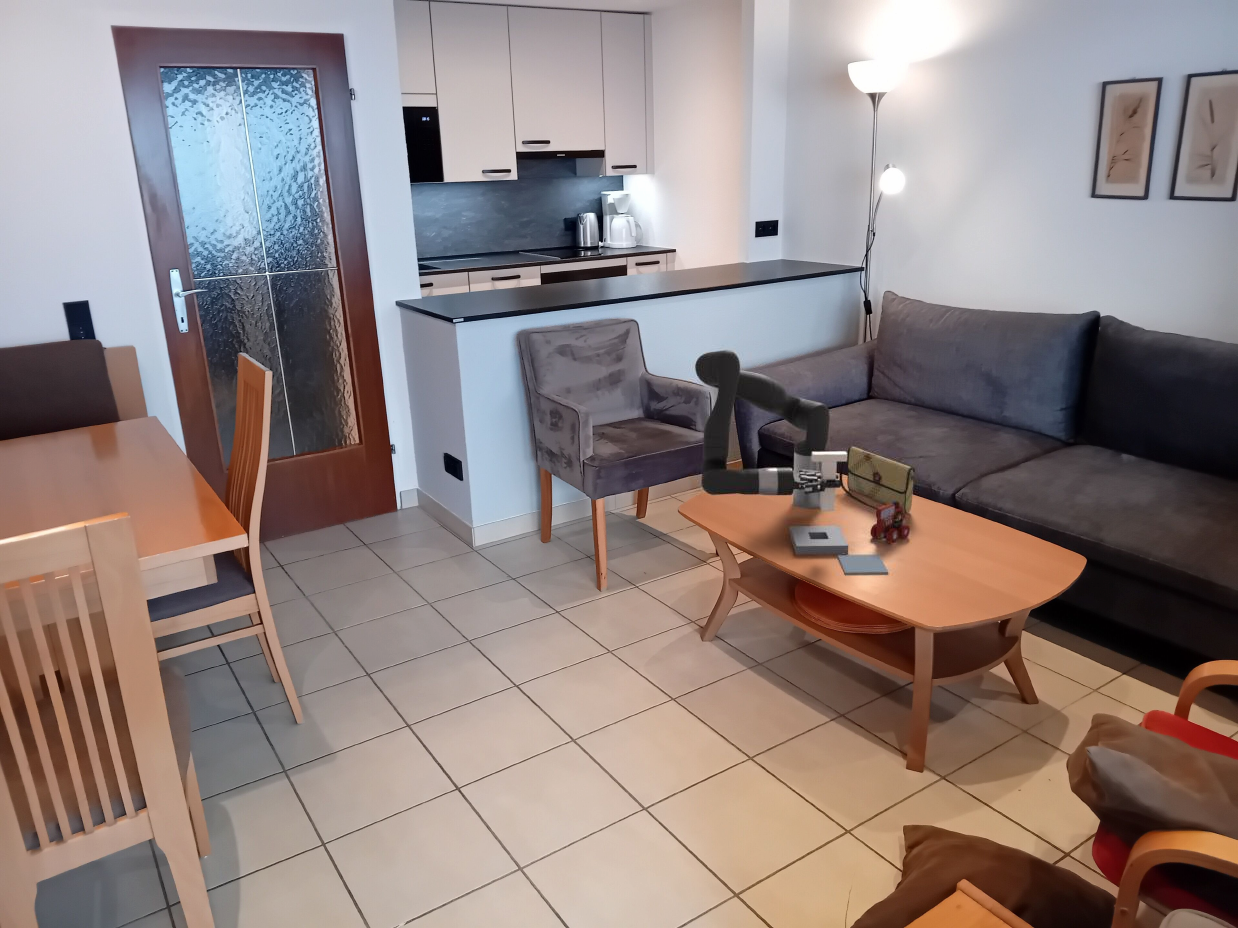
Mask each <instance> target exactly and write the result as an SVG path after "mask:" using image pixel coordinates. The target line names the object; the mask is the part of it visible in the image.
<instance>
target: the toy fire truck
mask: <svg viewBox="0 0 1238 928" xmlns="http://www.w3.org/2000/svg"><path fill="white" fill-rule="evenodd" d="M877 508H878V509H877V510H876V509H875V519H876V523H874V524H873V525H872V526H871V528H870V536H871V537H872V538H874V539H883V538H884V539H885V541H886V542H887V543H889V544H895V543H897V541H898V539H901V540H902V539H903V540H905V539H907V538H908V537H909V535H910V533H911V531H910V530H911V529H910V526H909V525H908V524H906V515H905V514H906V513H905V512H904V511H903V508H902V506H900V503H899V502H898V501H894V502H893V503H892V504H887V505H886V504H884V505H883V506H881V507H877Z"/></svg>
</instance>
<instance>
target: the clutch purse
mask: <svg viewBox="0 0 1238 928" xmlns="http://www.w3.org/2000/svg"><path fill="white" fill-rule="evenodd" d="M846 453H847V461H841V464H840V469H839V474H838V479H840V481H841V487H840V488H841V489H842V490H843V491H844V492H845V493H846V494H847V495H848V496H850V497H851V498H852V499H854V500H856V501H858V502H860V503H861V504H863V505H864V506H867V507H869V508H871V509H873V510H875V511H876V510H877V509H878V508H879V507H877V506H876V507H875V506H873V505H871V504H869V503H867V502H865V501H864V500H862V499H860V498H858V497H856V496H855V495H853V494H852V493H851V492H850V491H848V490H851V491H853V492H856V493H858V494H860V495H863V496H865V497H867V498H869V499H872V500H874V501H876V502H878V503H879V502H880V503H882V504H884V505H887V504H892V503H893V502H894V501H898V502H899V503H900V506H902V508H903V511H904V514H909V513H910V512H911V511H912V505H913V504H912V503H913V491H914V486H915V478H914V477H915V476H914V475H915V471H916V470H915V468H914V467H912V466H909V465H906V464H903V463H900V462H898V461H894V460H892V459H889V458H886V457H883V456H881V455H877V454H875V453H872V452H869V451H867V450H863V449H862V448H859V447H855V446H853V445H850V446H849V447H848V449H847V452H846ZM845 464H846V468H847V477H846V478H847V480H846V481H847V483H846V484H847V488H846V486H844V482H843V472H844V467H845ZM847 489H848V490H847Z"/></svg>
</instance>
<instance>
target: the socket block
mask: <svg viewBox="0 0 1238 928" xmlns="http://www.w3.org/2000/svg"><path fill="white" fill-rule="evenodd" d="M789 536H790V539H791V542H792V546H793V549H794V551H795V552H794V553H795V555H798V556H799V555H849V544H848V540H847V539H846V537H845V535H844V533H843V531H842V529H841V527H840V525H818V526H817V525H810V526H809V525H808V526H807V525H805V526H803V525H802V526H801V525H799V526H798V525H797V526H795V525H794V526H792V525H791V526H789Z"/></svg>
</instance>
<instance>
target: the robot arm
mask: <svg viewBox="0 0 1238 928" xmlns="http://www.w3.org/2000/svg"><path fill="white" fill-rule="evenodd" d="M694 369H695V374H696V376H697V378H698V379H699V381H701V382H702V383H703V384H705V385H707V386H710V387H712V388H715V389H717V396H716V399H715V402H714V405H713V408H712V410H711V412H710V414H709V416H708V418H707V421H706V422H705V426H704V429H703V442H702V443H703V444H702V452H703V453H702V456H703V459H702V460H703V461H702V471H701V480H700V482H701V487H702V489H703V491H704V492H705V493H706V494H708V495H711V496H717V495H734V494H735V495H736V494H737V495H738V494H739V495H748V496H751V495H756V496H757V495H761V496H792V495H793V496H792V503H793V505H794V506H795V507H797V508H800V509H808V510H812V509H818V508H820V492H823V491H825V489H826V488H835V489H839V488H842V487H841V481H840V479H839V474H837V473H836V479H827V480H826V479H821V467H822V462H813V461H812V452H826V447H827V444H828V442H829V441H828V440H829V430H830V420H831V419H830V415H831V414H830V410H829V408H828V406H827V405H826V404H824V403H822V402H818V401H813V400H809V399H805V398H802V397H798V396H795V395H793V394H790V393H789V392H787V390H786V389H785V387H784V386H783V385H782V384H781V383H780V382H778V381H776V380H775V379H773V378H771V377H769V376H767V375H764V374H762V373H757V372H754V371H748V370H743V369H741V362H740V358H739V357H738V355H737V354H736V352H734V350H733V351H732V350H728V349H725V350H724V349H723V350H716V351H710V352H705V353H703V354H702V355H700V356H698V358H697V359H696V362H695V364H694ZM736 398H739V399H740V400H743V401H744V402H746V403H749V404H750V405H752V406H754V407H755V408H758V409H760V410H762V411H764V412H767V413H769V414H773V415H776V416H779V417H780V418H782V419H783V420H784V421H786V422H787V423H789V424H790V425H791V426H793V427H795V428H796V429H800V430H802V431H805V438H803V439H800V440H798V441H796V442H794V443H795V444H794V449H793V450H794V453H793V456H794V457H793V468H792V467H764V468H743V469H727V468H728V467H727V465H728V464H727V462H728V461H727V460H728V456H729V449H730V430H731V421H732V415H733V409H734V405H735V399H736Z"/></svg>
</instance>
